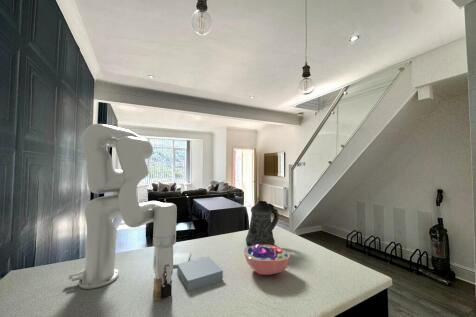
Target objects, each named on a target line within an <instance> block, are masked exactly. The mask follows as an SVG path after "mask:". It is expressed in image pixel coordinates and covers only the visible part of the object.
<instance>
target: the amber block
mask: <svg viewBox="0 0 476 317" xmlns="http://www.w3.org/2000/svg"><path fill="white" fill-rule="evenodd" d="M163 276H164V275H163ZM165 280H166V278H164V282H165ZM161 286H162V279H161V278H160V279H157V277H156V276H155V277H153V290H152V292H153V295H154V299H155V301H159V300H162V299H161ZM172 292H173V285H172V286H171V296H172ZM171 296H170V297H171Z"/></svg>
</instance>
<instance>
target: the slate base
mask: <svg viewBox="0 0 476 317" xmlns="http://www.w3.org/2000/svg"><path fill="white" fill-rule="evenodd" d="M176 270H177V271H176V273H177V275H178V278H179V279H180V280H181V282H182V284H183V286H184V287H185V289H186V291H187V292H190V291H194V290H196V289H199V288H201V287H205V286H208V285H212V284H213V283H217V282H221V281H223V275H224V270H223V269H222V267H220V266H219V265H218V264H217V263H216V262H215V261H214V260H213V259H211V257H209V256H205V257H202V258H197V259H193V260H189V261H188V262H184V263H180V264H177V267H176Z"/></svg>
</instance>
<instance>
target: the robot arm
mask: <svg viewBox="0 0 476 317" xmlns="http://www.w3.org/2000/svg"><path fill="white" fill-rule="evenodd" d="M81 144H82V149H83V154H84V157H85V160H86V173H87V175H86V176H87V177H86V178H87V186H88V190H89V191H90V193H93V194H107V193H108V194H109V193H112V195H106V196H105V195H103V196H99V197H95V198H93V199H91V200H89V201H88V202H87V203H86V205H85V206H84V218H85V224H86V242H85V255H84V256H85V257H84V258H85V259H84V268H83V269H82V270H80V271H79V272H72V273H69V274H68V280H71V282H75V281H78V287H79V288H81V289H85V290H86V289H87V290H91V289H92V290H93V289H98V288H101V287H104V286H107V285H109V284H110V283H112V282H114V281H115V280H116V279H117V278H118V277H119V274H120V272H119V270H118V269H117V268H115V264H116V263H115V262H116V246H117V229H116V226H115V224H114V222H113V221H112V220H114V219H118V218H121V219H122V221H123V223H124V224H125V225H126V226H128V227H130V228H140V227H141V226H144V225H146V224H150V223H153V232H152V233H153V234H152V236H153V237H152V247H154V248H153V261H152V267H153V268H152V269H153V271H154V272H153V273H154V275H155V277H157V279H160V278H161V279H162V286H161V299H160V300H164V299H167V298H170V297H171V286H172V287H173V280H172V275H173V274H174V267H173V255H174V245H176V243H177V239H176V238H177V217H178V216H177V215H178V213H177V211H178V209H177V208H178V207H177V205H176V204H175V203H173V202H161V201H157V200H150V201H144V202H139V201H138V197H137V188H138V185H139V184H140V182H141V181H142V180H144V179H145V178H146V177H148V175H149V174H150V172H149V169H148V168H149V167H148V166H147V161H146V160H147V159H149V158H151V156H152V155H153V153H154V151H153V150H154V149H153V144H151V142H150V141H149V140H147V138H144V137H142V136H140V135H138V134H137V133H135V132H133V131H131V130H129V129H126V128H122V127H117V126H114V125H109V124H106V123H105V124H104V123H93V124H90V125H89V126H87V127H86V128H85V130H84V131H83V133H82V136H81ZM106 147H109V148H115V150H116V155H117V158H118V162H119V165H120V169H114V166H113V158H112V156H111V154H110V151H108V149H106ZM163 275H164V276H163ZM164 278H166V280H165V282H164Z"/></svg>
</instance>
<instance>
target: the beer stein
mask: <svg viewBox="0 0 476 317" xmlns="http://www.w3.org/2000/svg"><path fill="white" fill-rule="evenodd" d="M250 212H251V216H250V221H249V227H248V231H247V234H246V237H245V243H246V247H248V246H253V245H257V244H260V245H272V246H275V237H274V233H273V230H274V229H275V227H276V226H277V224H278V221H279V217H280V215H279V214H280V213H279V212H278V209H277V208H275V206H274V205H273V204H272V203H268V202H267V200H266V201H265V200H258V201H257V203H256V204H254V205H253V206H252V207H251V208H250ZM272 214H273V218H272V217H271V215H272Z"/></svg>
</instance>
